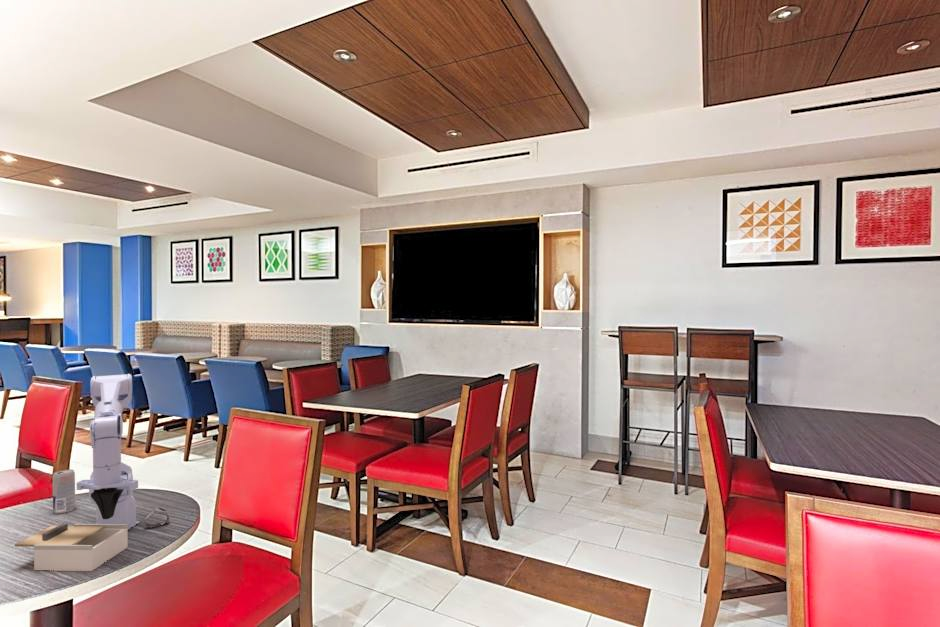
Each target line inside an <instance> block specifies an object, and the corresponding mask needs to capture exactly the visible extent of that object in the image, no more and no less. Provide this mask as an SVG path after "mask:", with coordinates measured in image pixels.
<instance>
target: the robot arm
mask: <svg viewBox="0 0 940 627" xmlns="http://www.w3.org/2000/svg"><path fill="white" fill-rule="evenodd" d="M89 389H90V396H91V403H92V406H93V407H95V410H94V416H93V420H92V419H91V420H90V424H89V437H90V440H91V449H92V468H93V469H92V470H93V471H92V472H91V474H90V478H89V479H81V480H80V481H77V482H76V491H82V490H88V497H89V501H90V502H92V503H93V502H94V505H95V519H96V521H95V524H127V531H128V530H130V529H132V528H134V527H135V526H136V524H137V525H138V524H140V521H139V520H137V501H136V498H135V497H134V496H133V492H134V490H137V489H138V488H139V480H138V479H134V478H133V477H134V476H133V474H134V473H133V468H132V467H131V466H130V465H128V464H126V463H124V462H122V436H123V434H124V433H123V430H124V429H123V425H124V423H123V417H122V414H123V412H124V408H125V407H126V406H128V405H130V404H131V402H132V400H133V396H132V395H133V375H132V374H131V373H127V374H126V373H125V374H123V373H122V374H112V375H97V376H96V375H93V376H92V377H90V388H89ZM131 527H132V528H131Z"/></svg>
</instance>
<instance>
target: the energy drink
mask: <svg viewBox="0 0 940 627" xmlns="http://www.w3.org/2000/svg"><path fill="white" fill-rule="evenodd" d="M75 475H76V474H75V470H74V469H62V470H58V471H55V472H53V474H52V512H53V514H56V515H59V514H60V515H61V514H66V512H67V513H70V512H73V511H74V510H75V508H76V476H75Z"/></svg>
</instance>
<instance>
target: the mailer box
mask: <svg viewBox="0 0 940 627" xmlns="http://www.w3.org/2000/svg"><path fill="white" fill-rule="evenodd" d="M73 526H104V529H102V530H100V531H98V532H97V533H95V534H93V535H91V536H90V537H88V538H86V539H85V540H83V541H81V542H79V543H78V544H76V545H34V547H33V568H34V569H33V571H34V570H50V571H49V572H61V571H62V572H93V571H94V570H95V569H97V568H99V567H101V566H102V565H103V564H105V563H107V562H108V561H110V560H111V559H113V557H115V556H117V555H118V554H120V553H122V552H123V551H124V550H126V549H127V548H129V546H128V545H129V542H128V541H129V539H128V538H129V537H128V535H129V534H128V530H127V524H96V523H74V524H73ZM107 560H108V561H107ZM104 562H105V563H104ZM51 570H52V571H51ZM53 570H54V571H53Z"/></svg>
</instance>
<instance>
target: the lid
mask: <svg viewBox="0 0 940 627" xmlns="http://www.w3.org/2000/svg"><path fill="white" fill-rule="evenodd" d="M102 529H104V526H74V525H68V523H61V524H59V525H51V526H49V527H47V528H44V529H43V530H41V531H39V532H36V533H35V534H33V535H31V536H29V537H26V538H25V539H23V540H21V541H19V542H17V543H15V544H14V547H23V548H24V547H29V548H30V547H32V548H34V545H76V544H78V543H79V542H81V541H83V540H85V539H86V538H88V537H90V536H91V535H93V534H95V533H97V532H98V531H100V530H102Z"/></svg>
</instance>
